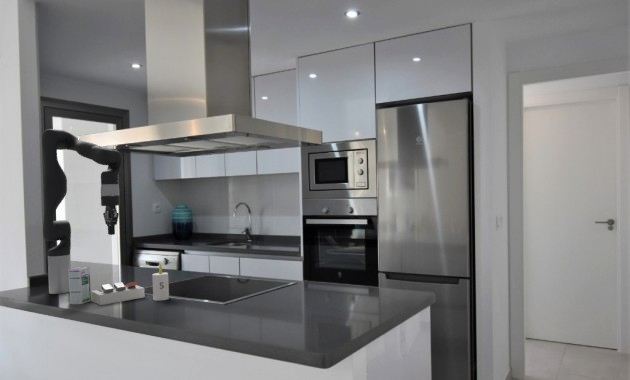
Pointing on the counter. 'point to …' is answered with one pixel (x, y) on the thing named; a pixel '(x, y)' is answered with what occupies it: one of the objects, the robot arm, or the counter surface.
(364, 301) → the counter surface
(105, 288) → the rocker
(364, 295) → the counter surface
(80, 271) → the syrup box
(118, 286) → the rocker
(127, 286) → the rocker
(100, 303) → the power strip
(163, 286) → the candle
